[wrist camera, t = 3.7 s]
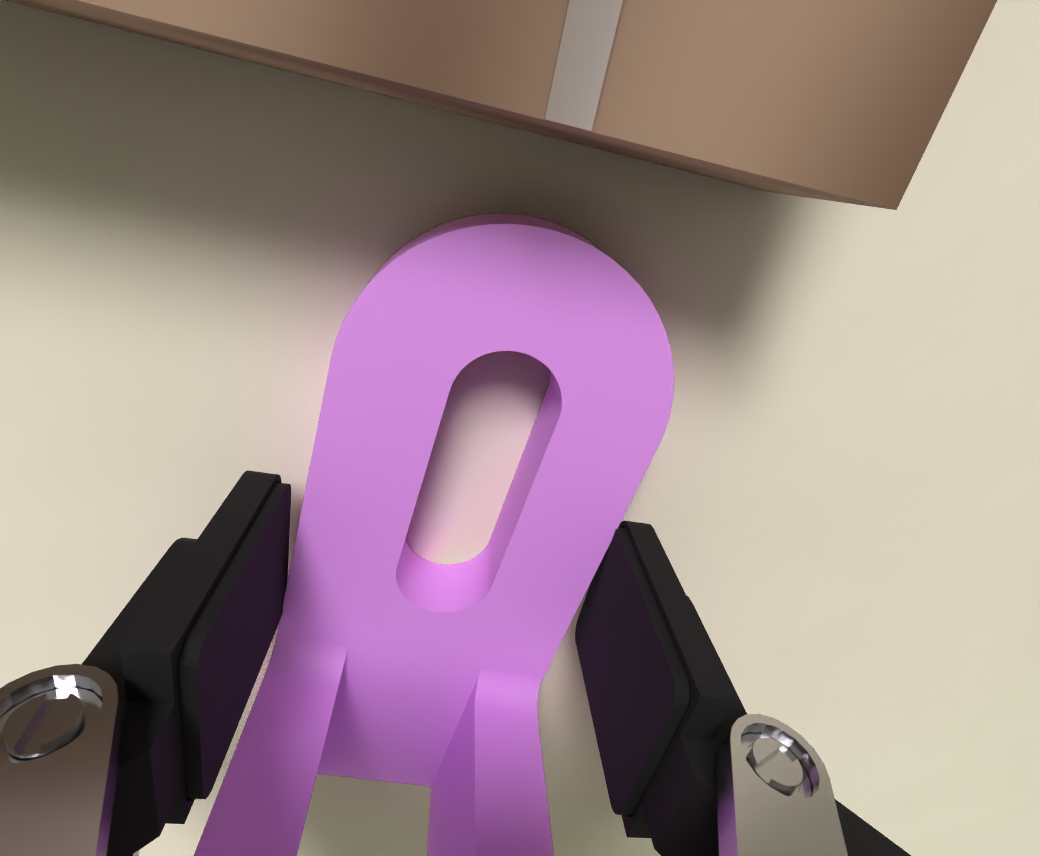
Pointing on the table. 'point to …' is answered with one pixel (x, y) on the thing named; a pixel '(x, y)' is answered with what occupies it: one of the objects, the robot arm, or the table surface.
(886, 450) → the table surface
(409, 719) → the bracket
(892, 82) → the walnut plank
